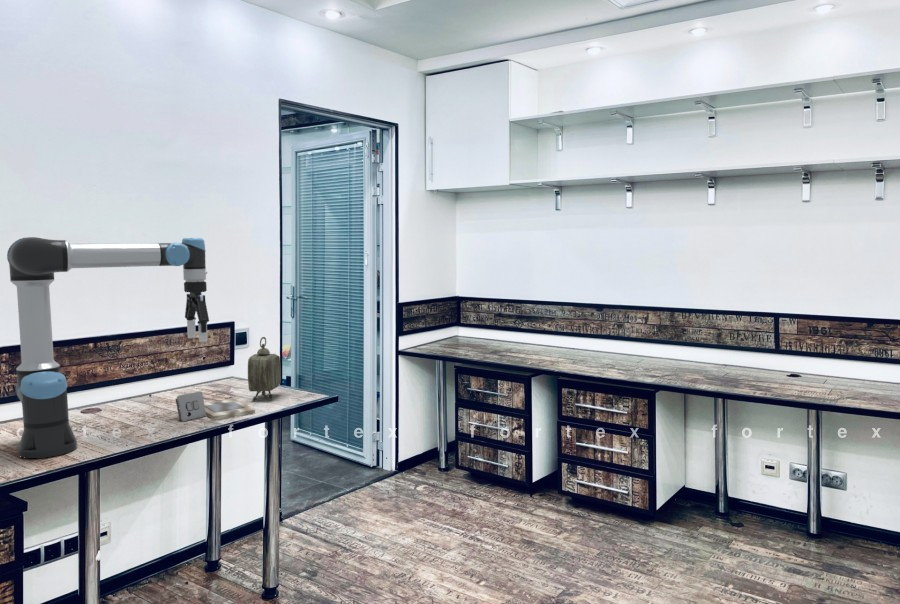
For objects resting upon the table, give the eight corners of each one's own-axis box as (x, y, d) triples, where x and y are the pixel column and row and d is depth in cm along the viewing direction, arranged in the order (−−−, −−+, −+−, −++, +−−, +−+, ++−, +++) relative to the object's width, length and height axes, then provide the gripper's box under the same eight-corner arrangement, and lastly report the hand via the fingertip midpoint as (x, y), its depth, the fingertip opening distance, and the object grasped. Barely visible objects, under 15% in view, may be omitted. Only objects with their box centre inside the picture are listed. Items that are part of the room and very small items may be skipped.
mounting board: (213, 420, 230) (213, 415, 229) (195, 408, 247) (195, 404, 247) (255, 413, 239) (255, 409, 238) (234, 402, 256) (234, 398, 256)
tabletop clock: (260, 394, 270) (258, 334, 268) (282, 394, 270) (280, 334, 268) (248, 402, 256) (246, 339, 254) (271, 402, 255) (269, 339, 253)
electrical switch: (182, 422, 228) (180, 396, 228) (175, 421, 231) (172, 395, 231) (207, 416, 235) (204, 391, 235) (199, 415, 239) (197, 390, 238)
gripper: (217, 281, 225) (219, 342, 227) (195, 279, 245) (197, 335, 246) (194, 282, 221) (197, 344, 222) (174, 280, 240) (176, 337, 242)
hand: (197, 339), depth 234 cm, fingers open, 13 cm apart
